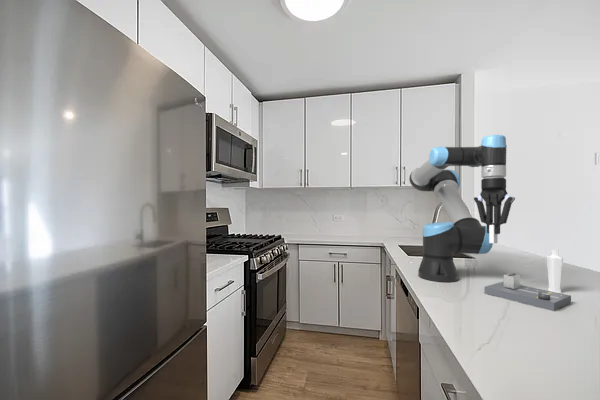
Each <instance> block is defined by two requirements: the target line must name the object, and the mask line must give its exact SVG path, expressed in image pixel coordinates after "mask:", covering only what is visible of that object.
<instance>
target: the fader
mask: <svg viewBox="0 0 600 400" xmlns="http://www.w3.org/2000/svg"><path fill="white" fill-rule="evenodd" d="M503 282H504V287H508V288H512V289H515V288H518V287H520V285H521V275H520V274H517V273H515V272H514V273H506V274H503Z"/></svg>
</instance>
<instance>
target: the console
mask: <svg viewBox="0 0 600 400" xmlns="http://www.w3.org/2000/svg"><path fill="white" fill-rule="evenodd" d="M483 291H484V294H485V295H488V296H492V297H497V298H500V299H501V298H502V299H505V300H509V301H513V302H516V301H517V302H516V303H521V304H524V305H528V306H533V307H536V308H541V309H544V310H548V311H552V312H555V311H557V310H560V309H562V308H564V307H566V306H568V305H570V304H572V295H569V294H565V293H556V292H552V291H548V289H547V290H546V289H540V288H537V287H532V286H527V285H522V284H520V287H518V288H515V289H512V288H508V287H504V281H500V282H496V283H493V284H489V285H486V286H484V290H483Z"/></svg>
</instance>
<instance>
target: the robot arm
mask: <svg viewBox="0 0 600 400" xmlns="http://www.w3.org/2000/svg"><path fill="white" fill-rule="evenodd" d="M507 148H508V147H507V139H506V136H505V135H503V134H491V135H486V136H483V137H482V138H481V143H480V145H479V146H437V147H433V148H431V150H430V152H429V155H428V159H427V160H426V161H425V162H424V163H423V164H422V165H420V167H416V168H415V169H413V171H411V172H410V175H409V179H408V180H409V184H410V185H411V186H412V188H414V189H416V190H418V191H420V192H433V195H435V197H437V198H439V199H440V201H441V204H442V205H443V208H444V210H445V212H446V214H447V215H448V218H449V220H450V221H444V222H443V221H441V222H440V221H439V222H431V223H426V224H425V225H424V226H423V228H422V229H423V230H422V259H421V262H420V265H419V267H418V270H417V272H418V273H417V274H418V277H419V278H421V279H424V280H428V281H433V282H440V283H451V282H452V283H454V282H457V281H458V280H459V279H458V278H459V275H458V271H457V268H456V266H455V262H454V254H472V255H473V254H474V255H475V254H476V255H484V254H488V253H489V252H490V251H491V249H492V247H493V244H498V235H500V234H501V225H504V224H507V222H508V218H509V215H510V211H511V208H512V205H513V202H514V201H515V200H516V197H514V196H511V195H509V194H508V192H507V179H506V177H507ZM448 167H470V168H479V167H481V172H480V173H481V178H482V179H481V180H480V181H481V183H480V184H481V185H480V186H481V192H480V194H479V195H478V196H475V197H473V201H474V202H475V204H476V207H477V211H478V215H479V218H480V220H479V219H477V218H475V217H473V216H472V215H471V212H470V211H469V209H468V207H467V205H466V203H465V202H464V200H463V198H462V196H461V195H460V193H459V191H458V190H459V188H460V184H461V182H460V181H461V180H460V176H459V174H458V172H457V171H455V170H452V169H447V168H448ZM483 200H484V201H483ZM503 201H504V203H503V204H504V205H503V204H502V202H503ZM484 203H485V205H484ZM502 205H503V208H502ZM480 222H481V223H482V224H483V223H484V225H482V224H481V223H480Z"/></svg>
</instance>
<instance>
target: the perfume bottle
mask: <svg viewBox="0 0 600 400" xmlns="http://www.w3.org/2000/svg"><path fill="white" fill-rule="evenodd" d="M563 261H564V258H563V257H561V256H560V255H559V249H551V254H550V255H547V256H546V267H547V268H546V269H547V277H548V278H547V279H548V288H547V291H552V292H556V293H561V294H563V292H562V290H561V287H562V286H561V285H562V275H563V274H562V273H563Z"/></svg>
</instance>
